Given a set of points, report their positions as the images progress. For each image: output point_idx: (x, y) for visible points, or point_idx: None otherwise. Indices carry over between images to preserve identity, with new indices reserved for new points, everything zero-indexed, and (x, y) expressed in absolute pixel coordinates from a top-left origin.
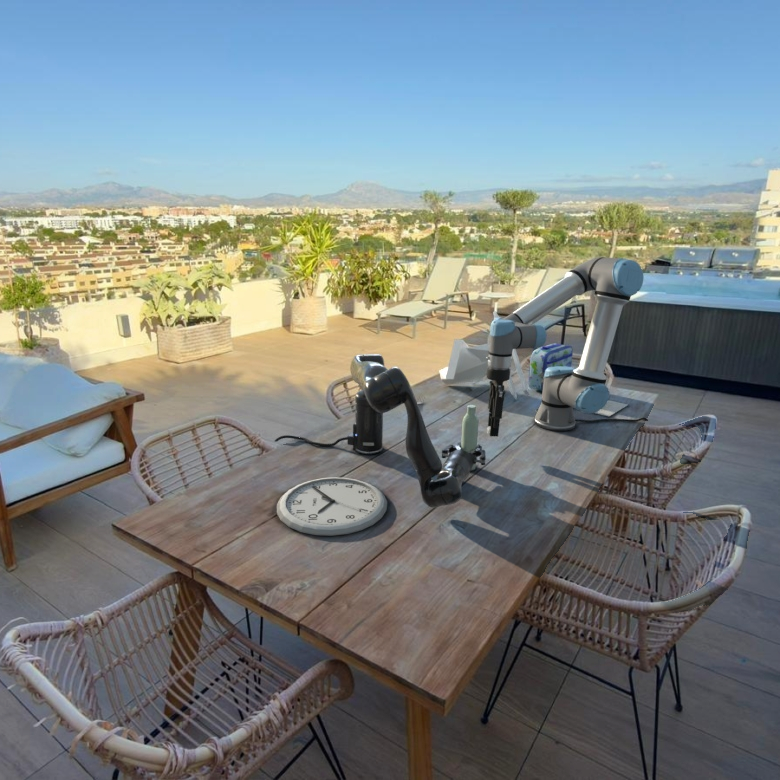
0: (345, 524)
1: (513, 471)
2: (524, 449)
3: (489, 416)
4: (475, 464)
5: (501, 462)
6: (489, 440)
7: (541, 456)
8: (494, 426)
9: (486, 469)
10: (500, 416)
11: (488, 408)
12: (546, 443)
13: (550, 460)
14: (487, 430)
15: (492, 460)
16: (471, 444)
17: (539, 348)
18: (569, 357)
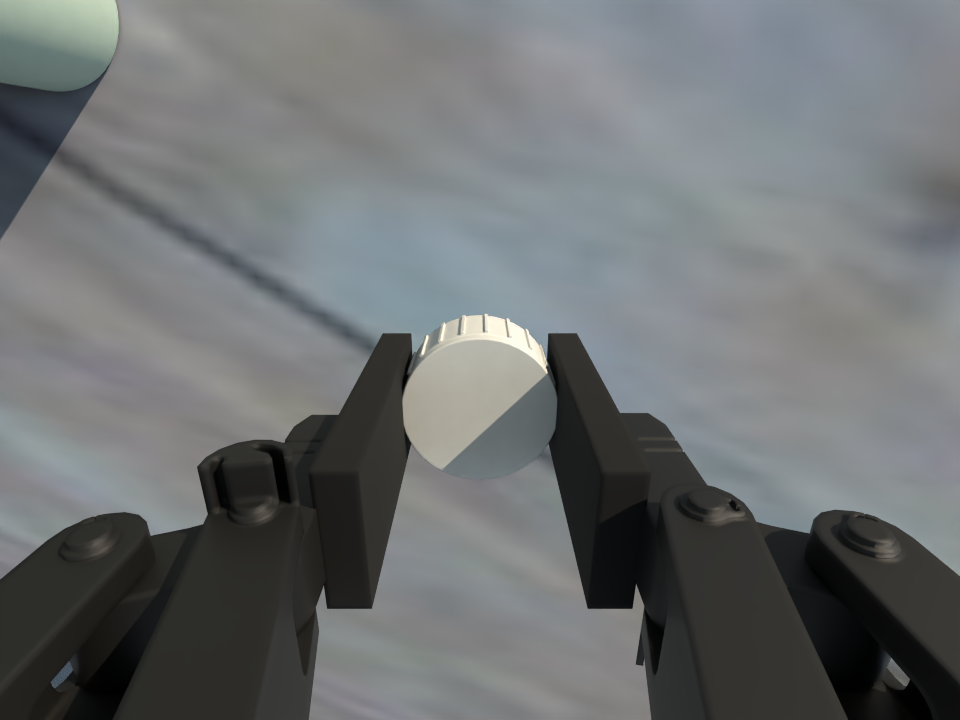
0: None
1: (83, 409)
2: (500, 560)
3: (589, 443)
4: (11, 84)
5: (230, 353)
6: (698, 340)
7: (385, 630)
8: (292, 438)
9: (52, 198)
10: (67, 681)
11: (831, 517)
12: (604, 702)
13: (327, 662)
14: (474, 326)
15: (256, 286)
16: None
17: None
18: None
